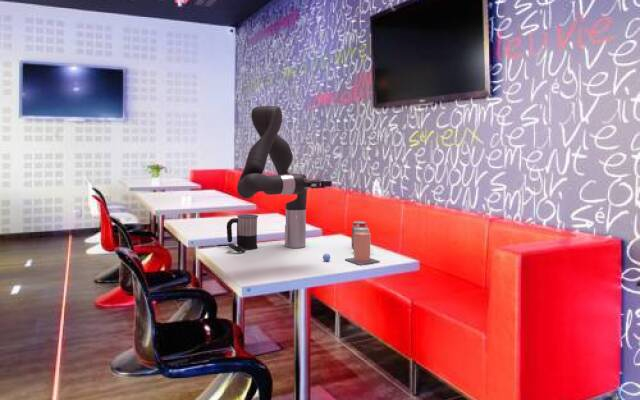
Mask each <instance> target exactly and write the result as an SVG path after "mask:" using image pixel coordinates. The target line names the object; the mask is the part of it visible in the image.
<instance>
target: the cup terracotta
mask: <svg viewBox="0 0 640 400" xmlns="http://www.w3.org/2000/svg"><path fill="white" fill-rule="evenodd" d="M371 236H372V235H371V232H370V231H369V232H356V233H355V241H354V248H353V254H354V255H353V258H354V260H355V261H358V262H368V261H370V258H371V240H372V239H371Z"/></svg>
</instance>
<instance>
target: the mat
mask: <svg viewBox="0 0 640 400" xmlns="http://www.w3.org/2000/svg"><path fill="white" fill-rule="evenodd" d="M344 261H345V262H348V263H351V264H354V265H358V266H360V267H361V266H366V265H371V264H372V265H373V264H378V263H381V261H380V260H378V259H376V258H371V257H370V261H368V262H358V261H355V260H354V257H350V258H349V257H348V258H345V259H344Z"/></svg>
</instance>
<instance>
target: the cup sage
mask: <svg viewBox="0 0 640 400" xmlns="http://www.w3.org/2000/svg"><path fill="white" fill-rule="evenodd" d="M356 232H369V233H370V228H369V227H367V228H366V227H356V228H355V229H354V241H355V233H356Z"/></svg>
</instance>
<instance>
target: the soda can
mask: <svg viewBox="0 0 640 400" xmlns="http://www.w3.org/2000/svg"><path fill="white" fill-rule="evenodd" d="M352 223H353V224H352V225H351V247H352V248H353V249H354V229H355V228H356V227H366V228H368V225H367V222H366V221H362V220H360V221H358V220H355V221H353V222H352Z"/></svg>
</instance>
